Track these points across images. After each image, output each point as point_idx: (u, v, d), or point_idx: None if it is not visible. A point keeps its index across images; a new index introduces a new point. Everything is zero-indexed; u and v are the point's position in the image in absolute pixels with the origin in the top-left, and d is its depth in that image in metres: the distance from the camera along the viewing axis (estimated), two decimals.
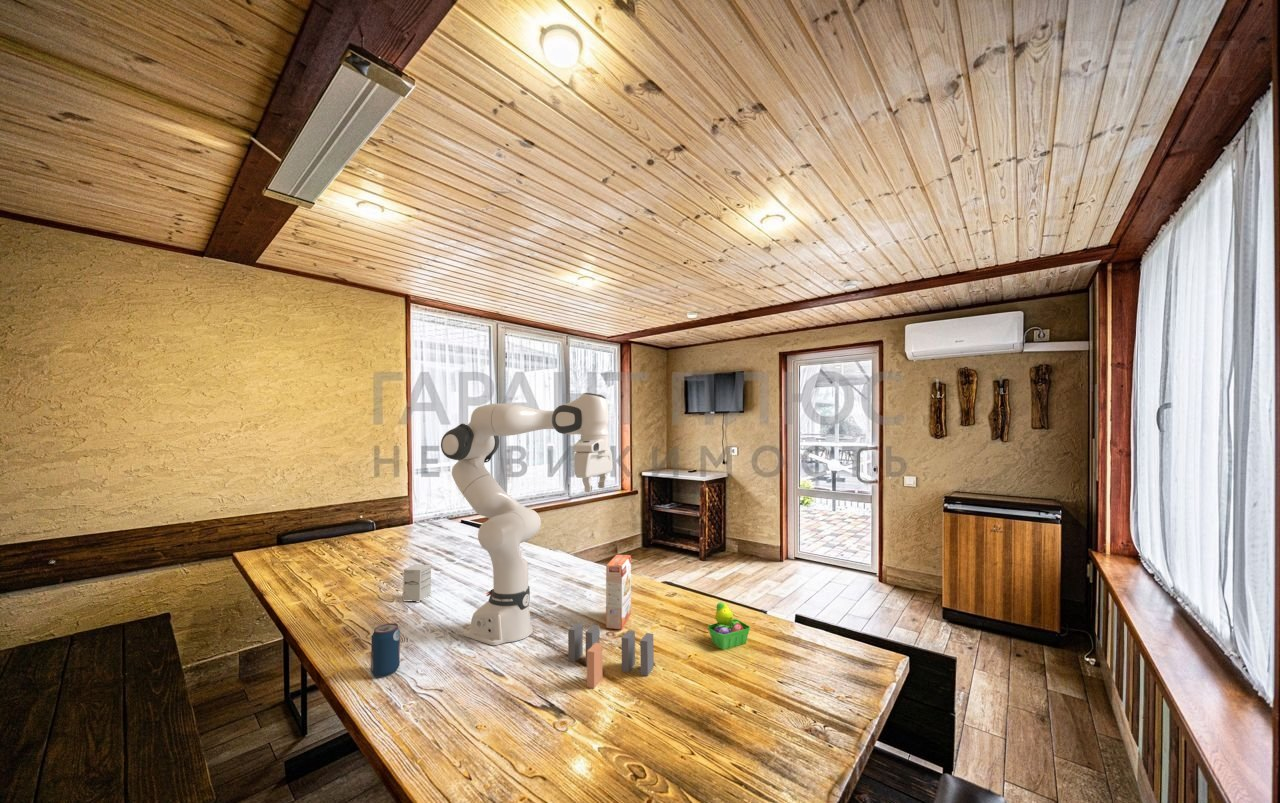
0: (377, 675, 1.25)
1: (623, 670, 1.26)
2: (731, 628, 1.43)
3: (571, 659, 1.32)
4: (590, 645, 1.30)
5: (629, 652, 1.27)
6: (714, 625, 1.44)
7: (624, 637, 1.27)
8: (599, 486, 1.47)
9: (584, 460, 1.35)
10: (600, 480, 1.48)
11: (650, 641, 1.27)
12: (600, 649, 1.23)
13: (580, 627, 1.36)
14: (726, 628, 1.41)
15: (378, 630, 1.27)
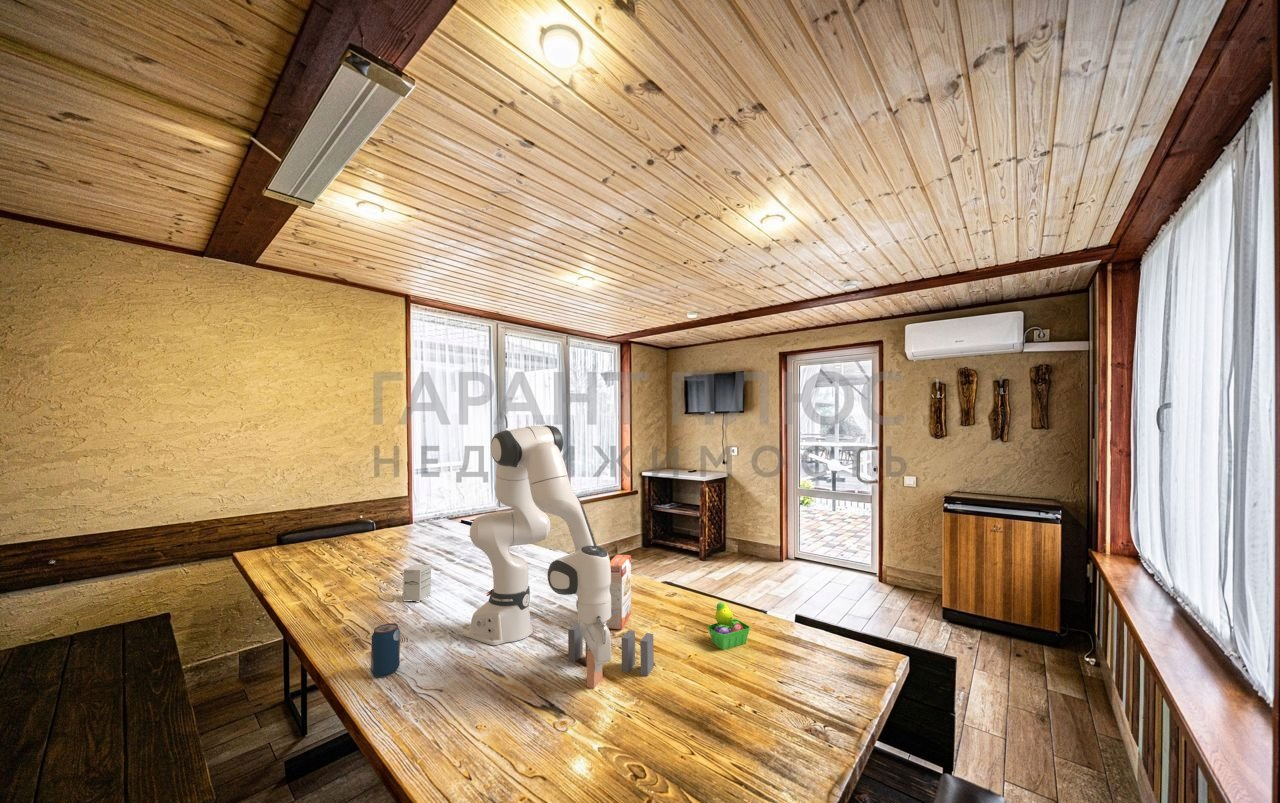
0: (377, 675, 1.25)
1: (623, 670, 1.26)
2: (731, 628, 1.43)
3: (571, 659, 1.32)
4: None
5: (629, 652, 1.27)
6: (714, 625, 1.44)
7: (624, 637, 1.27)
8: None
9: None
10: None
11: (650, 641, 1.27)
12: None
13: None
14: (726, 628, 1.41)
15: (378, 630, 1.27)
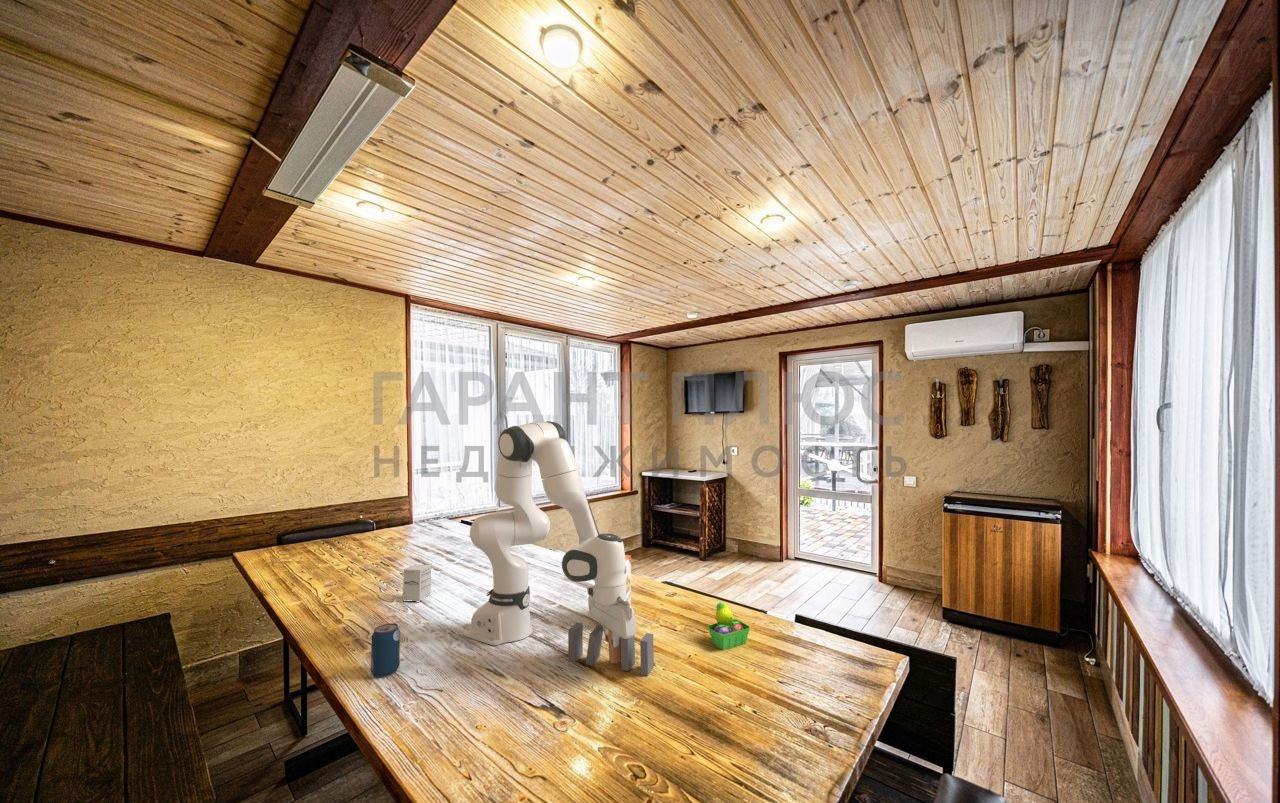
0: (377, 675, 1.25)
1: (623, 668, 1.27)
2: (731, 628, 1.43)
3: (571, 659, 1.32)
4: (593, 647, 1.29)
5: (629, 649, 1.28)
6: (714, 625, 1.44)
7: None
8: None
9: None
10: None
11: (650, 641, 1.27)
12: None
13: (580, 627, 1.36)
14: (726, 628, 1.41)
15: (378, 630, 1.27)
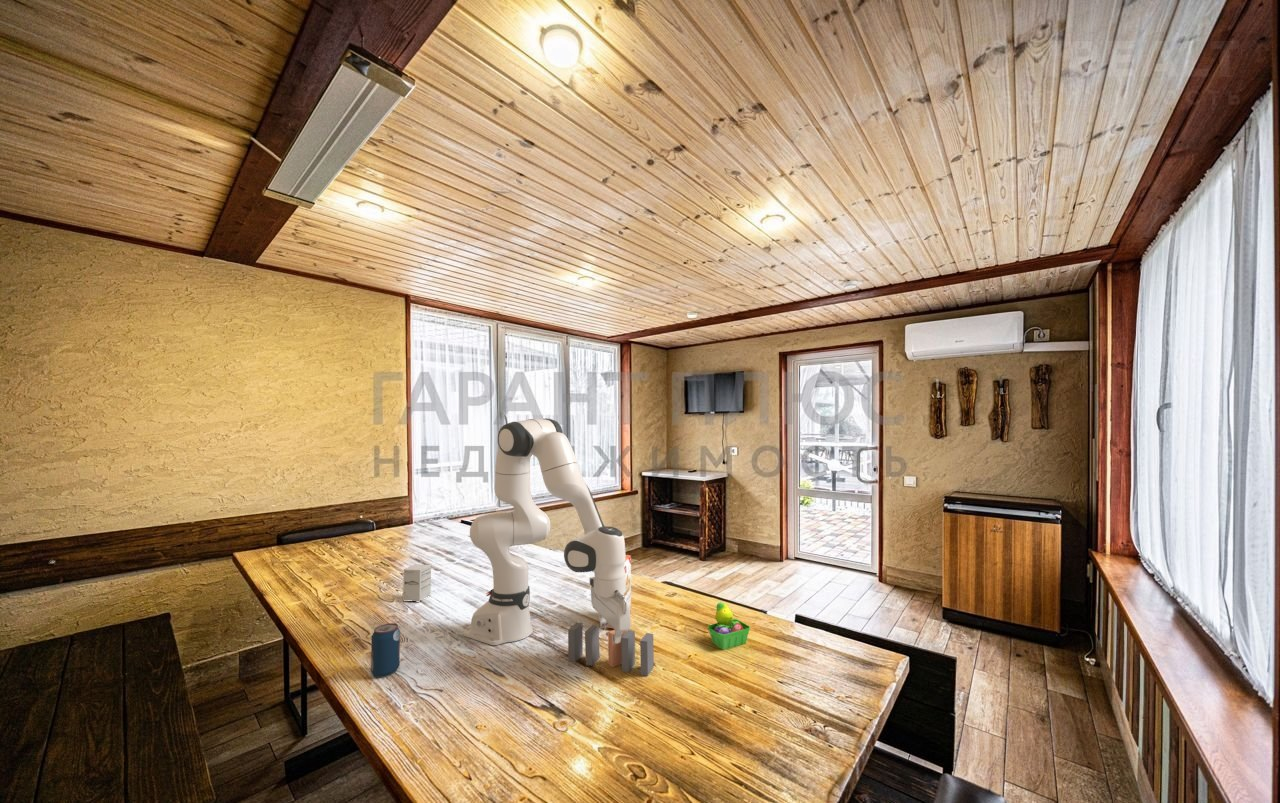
0: (377, 675, 1.25)
1: (623, 670, 1.26)
2: (731, 628, 1.43)
3: (571, 659, 1.32)
4: (590, 645, 1.30)
5: (629, 652, 1.27)
6: (714, 625, 1.44)
7: (624, 637, 1.27)
8: None
9: None
10: None
11: (650, 641, 1.27)
12: (623, 633, 1.32)
13: (580, 627, 1.36)
14: (726, 628, 1.41)
15: (378, 630, 1.27)
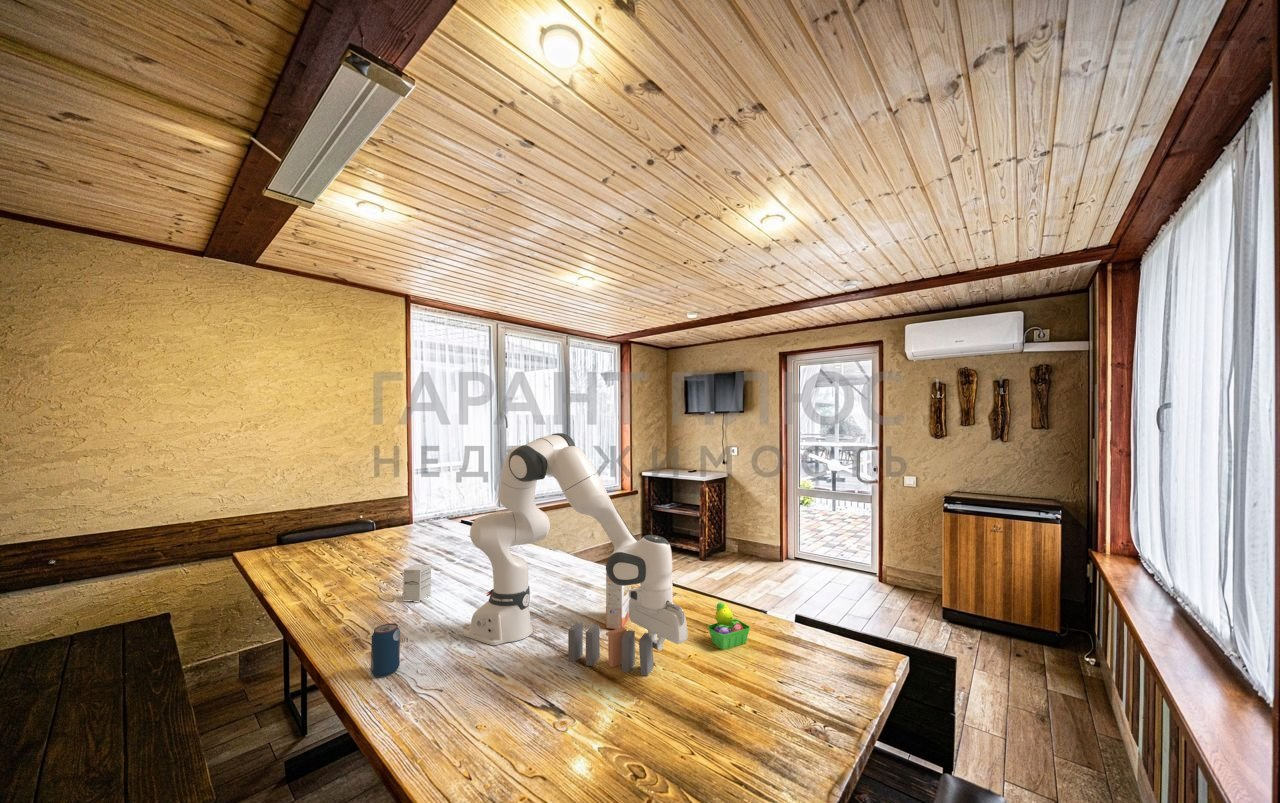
0: (377, 675, 1.25)
1: (623, 670, 1.26)
2: (731, 628, 1.43)
3: (571, 659, 1.32)
4: (590, 645, 1.30)
5: (629, 652, 1.27)
6: (714, 625, 1.44)
7: (624, 637, 1.27)
8: None
9: None
10: None
11: (649, 640, 1.27)
12: (623, 633, 1.32)
13: (580, 627, 1.36)
14: (726, 628, 1.41)
15: (378, 630, 1.27)
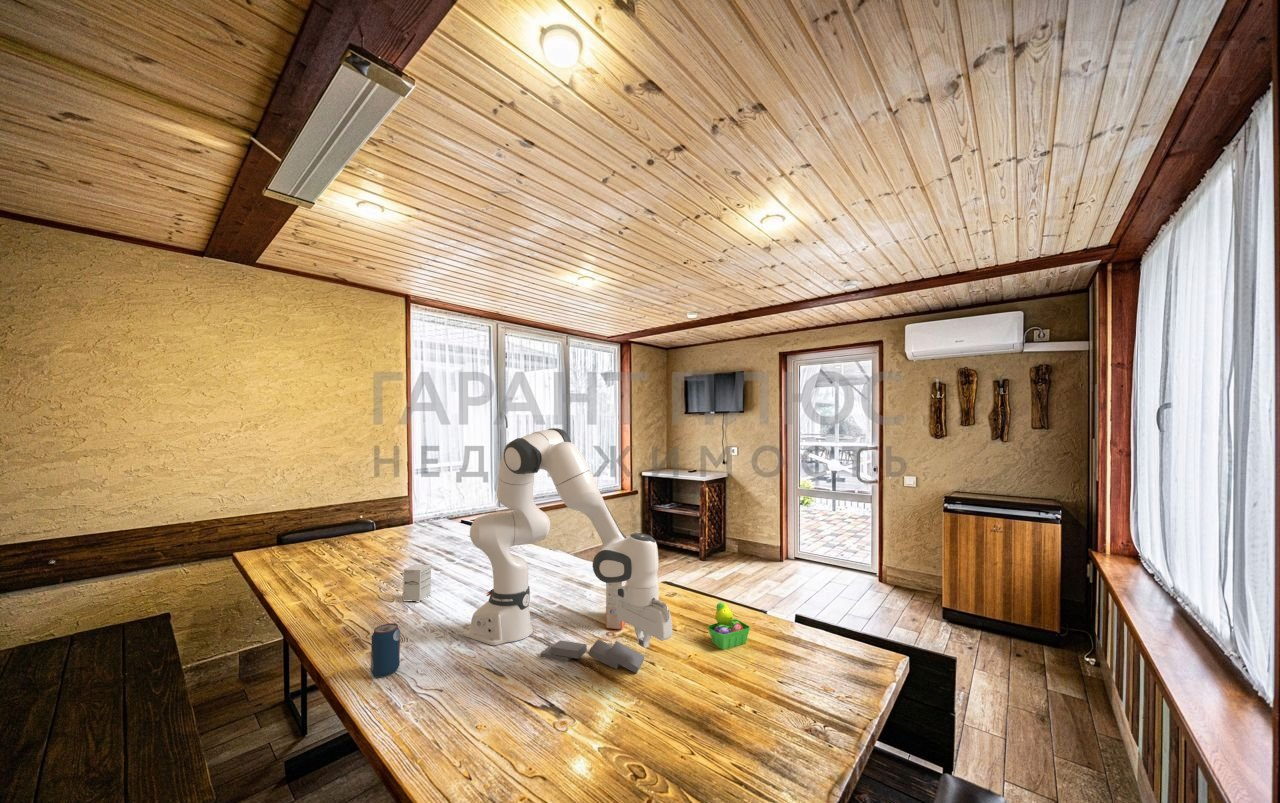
0: (377, 675, 1.25)
1: (615, 667, 1.28)
2: (731, 628, 1.43)
3: (565, 660, 1.33)
4: (561, 650, 1.33)
5: (603, 653, 1.30)
6: (714, 625, 1.44)
7: None
8: None
9: None
10: None
11: (616, 647, 1.30)
12: None
13: (549, 647, 1.39)
14: (726, 628, 1.41)
15: (378, 630, 1.27)
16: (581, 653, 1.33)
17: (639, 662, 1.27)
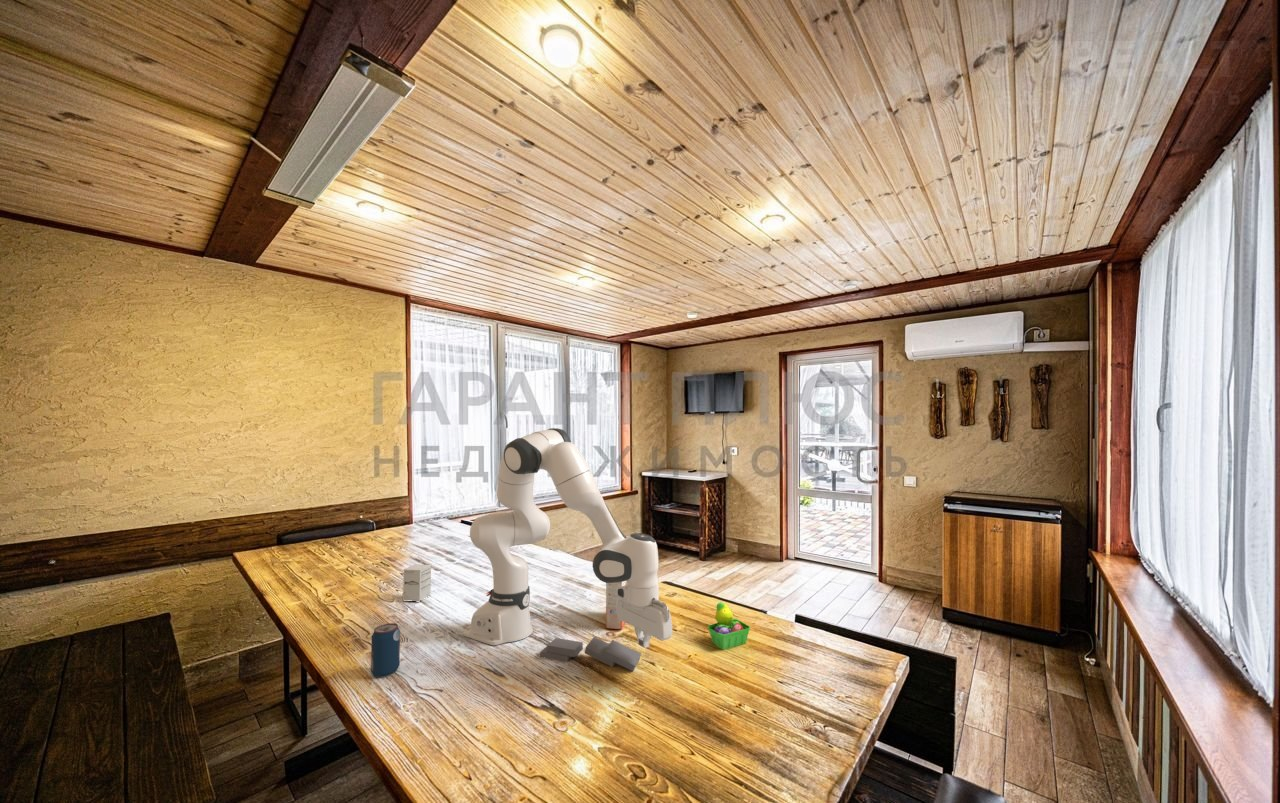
0: (377, 675, 1.25)
1: (611, 665, 1.29)
2: (731, 628, 1.43)
3: (564, 659, 1.33)
4: (557, 648, 1.34)
5: (599, 651, 1.31)
6: (714, 625, 1.44)
7: None
8: None
9: None
10: None
11: (612, 646, 1.31)
12: None
13: None
14: (726, 628, 1.41)
15: (378, 630, 1.27)
16: (577, 651, 1.34)
17: (635, 660, 1.28)
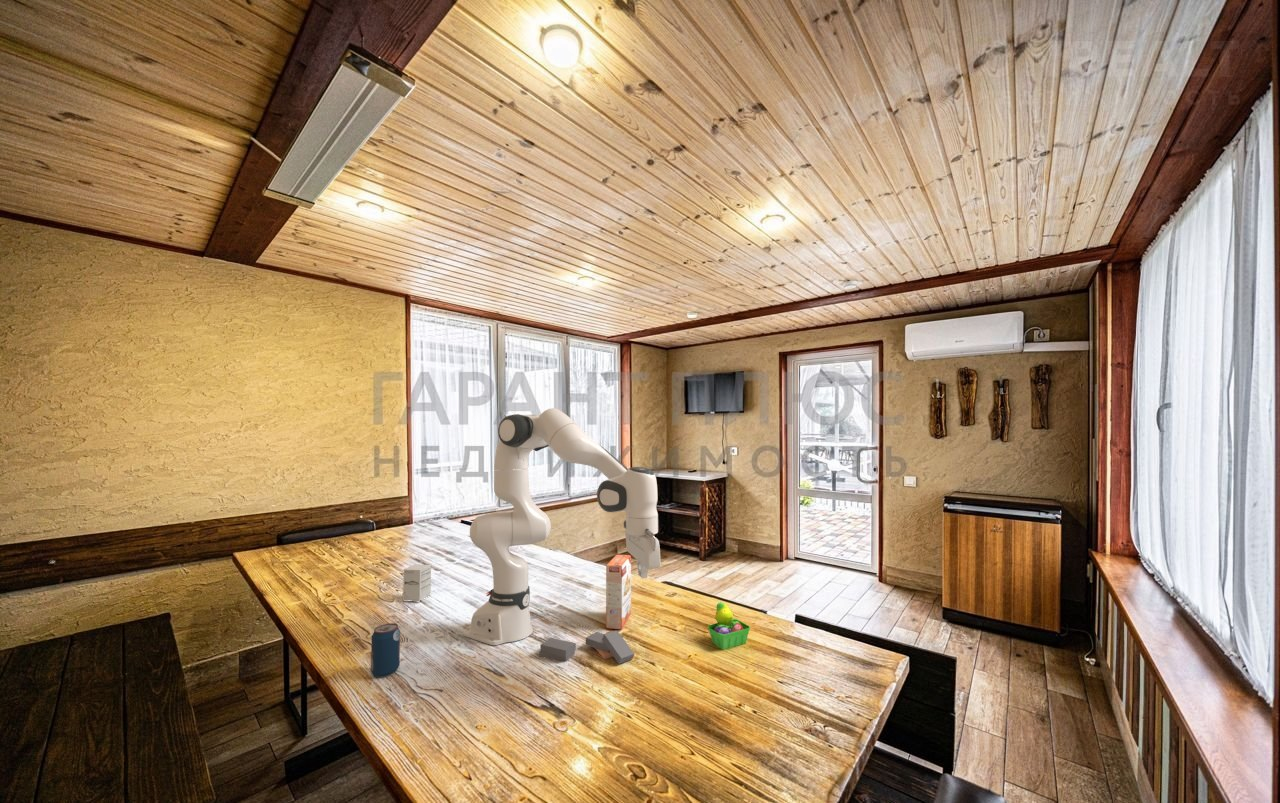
0: (377, 675, 1.25)
1: (607, 650, 1.35)
2: (731, 628, 1.43)
3: (563, 659, 1.33)
4: (550, 648, 1.34)
5: (597, 639, 1.39)
6: (714, 625, 1.44)
7: None
8: None
9: None
10: None
11: (613, 634, 1.37)
12: None
13: None
14: (726, 628, 1.41)
15: (378, 630, 1.27)
16: (569, 652, 1.34)
17: (625, 655, 1.31)
